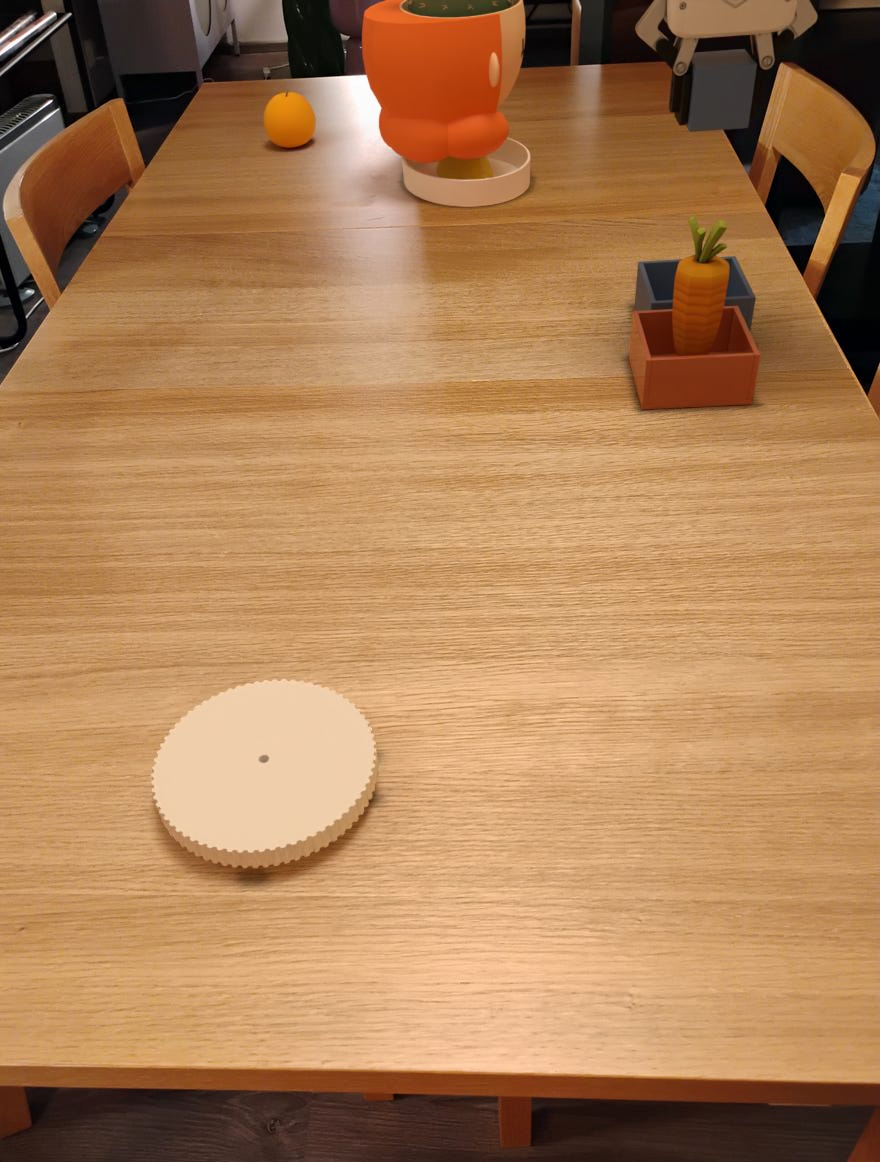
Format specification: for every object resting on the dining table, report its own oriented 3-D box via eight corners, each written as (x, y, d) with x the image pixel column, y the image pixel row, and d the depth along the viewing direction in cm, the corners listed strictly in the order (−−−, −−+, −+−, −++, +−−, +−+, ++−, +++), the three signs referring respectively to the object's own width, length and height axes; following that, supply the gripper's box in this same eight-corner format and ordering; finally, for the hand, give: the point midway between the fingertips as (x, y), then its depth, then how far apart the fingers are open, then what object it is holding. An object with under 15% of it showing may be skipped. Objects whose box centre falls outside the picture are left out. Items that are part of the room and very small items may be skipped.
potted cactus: (489, 146, 153) (483, -146, 130) (557, 192, 137) (565, -132, 114) (353, 175, 149) (322, -123, 125) (407, 225, 133) (384, -105, 109)
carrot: (656, 366, 100) (672, 210, 90) (706, 360, 100) (728, 203, 90) (671, 391, 96) (690, 231, 86) (723, 385, 96) (748, 224, 86)
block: (736, 110, 92) (744, 48, 89) (748, 128, 89) (757, 63, 85) (679, 114, 93) (686, 52, 89) (689, 132, 89) (696, 68, 86)
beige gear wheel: (288, 675, 73) (282, 649, 71) (425, 781, 65) (423, 754, 63) (118, 788, 66) (108, 762, 64) (248, 921, 58) (240, 896, 56)
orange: (257, 149, 161) (249, 97, 156) (289, 134, 165) (282, 82, 160) (296, 155, 157) (289, 102, 152) (328, 139, 162) (322, 87, 157)
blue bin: (728, 301, 110) (735, 255, 107) (748, 345, 103) (756, 297, 99) (634, 306, 111) (638, 261, 108) (646, 350, 104) (651, 303, 100)
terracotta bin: (730, 353, 102) (738, 305, 98) (751, 404, 94) (760, 354, 91) (628, 358, 103) (632, 310, 99) (641, 409, 95) (646, 360, 92)
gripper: (638, -122, 76) (621, 138, 88) (875, -143, 75) (824, 125, 87) (625, -135, 82) (610, 112, 94) (845, -154, 80) (802, 99, 93)
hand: (713, 116), depth 90 cm, fingers closed on block, 5 cm apart
